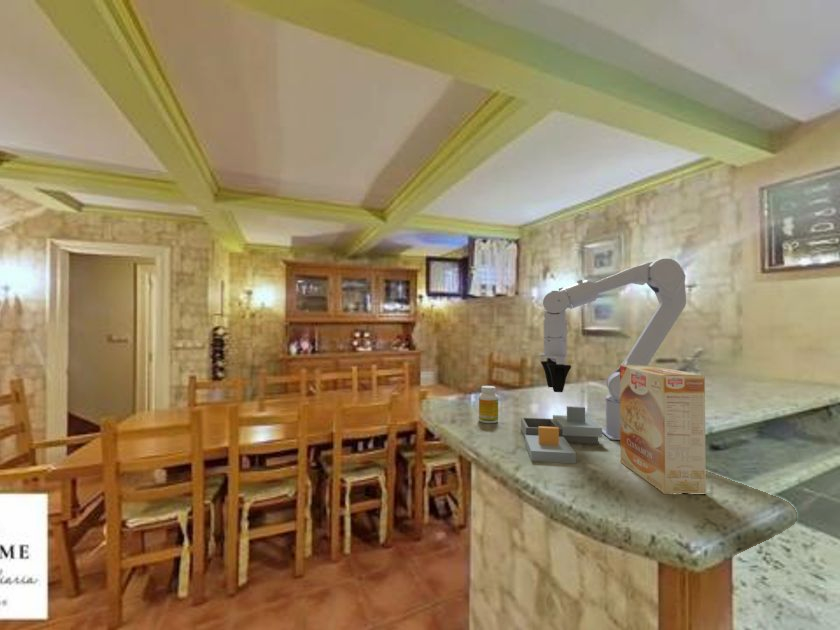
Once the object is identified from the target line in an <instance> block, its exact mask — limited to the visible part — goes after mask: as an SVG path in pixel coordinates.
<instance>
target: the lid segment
mask: <svg viewBox="0 0 840 630" xmlns="http://www.w3.org/2000/svg"><path fill="white" fill-rule="evenodd" d="M552 419H554V420H555V421H556V422H557V424H558V425H559V426H560V427H561V428H562V430H563V435H567V436H590V437H598V438H603V433H602V429H603V427H601V426H600V425H599V424H598V423H596V422H595V421H594V420H593V419H591V417H589V416H586V407H584V406H570V405H569V406H568V405H567V406H566V415H563V414H562V415H559V414H557V415H556V414H553V415H552Z"/></svg>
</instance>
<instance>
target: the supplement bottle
mask: <svg viewBox="0 0 840 630" xmlns="http://www.w3.org/2000/svg"><path fill="white" fill-rule="evenodd" d="M496 388H497V387H496V386H494V385H482V386H481V389H480V390H481V391H480V392H481V393H480V394H479V395H478V421H479V422H481V423H485V424H496V423H498V422H499V396H498V395H497V394H496V391H497V389H496Z"/></svg>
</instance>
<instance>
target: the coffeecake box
mask: <svg viewBox="0 0 840 630" xmlns="http://www.w3.org/2000/svg"><path fill="white" fill-rule="evenodd" d="M619 366H620V440H619V442H620V463H621V464H622V465H624V466H625V467H627V468H628V469H629V470H631V471H633V472H634V473H635V474H636V475H638V476H639V477H641V478H642V479H643V480H645V481H646V482H647V483H649V484H650V485H651V486H653V487H654V486H655V487H654V488H656V489H657V488H658V489H657V490H659V491H660V492H661V493H663V494H664V495H674V494H673V493H705V492H706V493H707V483H706V482H707V481H706V479H707V478H706V477H707V476H706V475H707V474H706V472H707V470H706V468H707V464H706V457H707V456H706V399H705V398H706V392H705V390H706V389H705V386H706V385H705V383H706V382H705V380H706V378H705V377H706V375H704V374H698V373H693V372H689V371H688V372H687V371H682V370H678V369H672V368H667V367H662V366H657V365H653V364H651V365H649V364H648V365H621V364H619ZM670 493H672V494H670Z"/></svg>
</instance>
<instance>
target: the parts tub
mask: <svg viewBox="0 0 840 630" xmlns="http://www.w3.org/2000/svg"><path fill="white" fill-rule="evenodd" d="M538 426H544V427H558V428H559V437H564V438H565V439H566V441H567V442H568V443H569V445H570V444H573V445H591V446H592V445H595V446H598V445H599V437H590V436H567V435H563V430H562V428H561V427H560V426H559V425H558V424H557V422H556V421H555V420H554V419H553V418H541V417H540V418H539V417H520V431H521V433H522V435H523V438H524V439H525V435H536V436H538Z"/></svg>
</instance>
